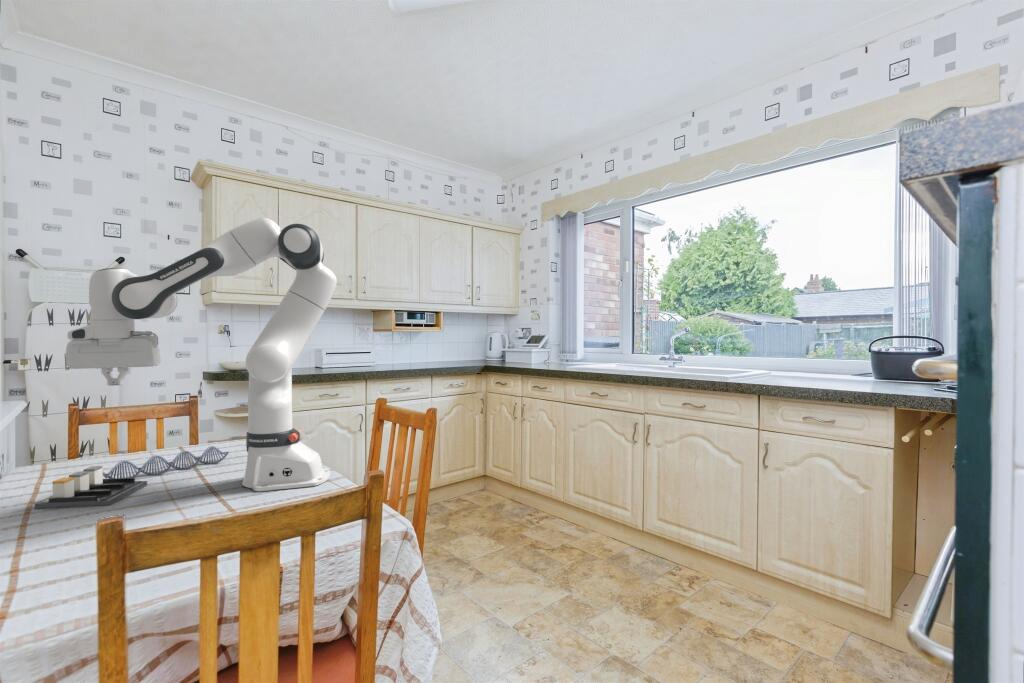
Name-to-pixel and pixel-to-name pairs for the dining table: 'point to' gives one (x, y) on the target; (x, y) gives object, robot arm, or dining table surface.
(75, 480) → the white rectangular block
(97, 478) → the handle
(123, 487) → the panel
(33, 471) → the dining table surface
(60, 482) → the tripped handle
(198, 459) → the decorative sculpture
